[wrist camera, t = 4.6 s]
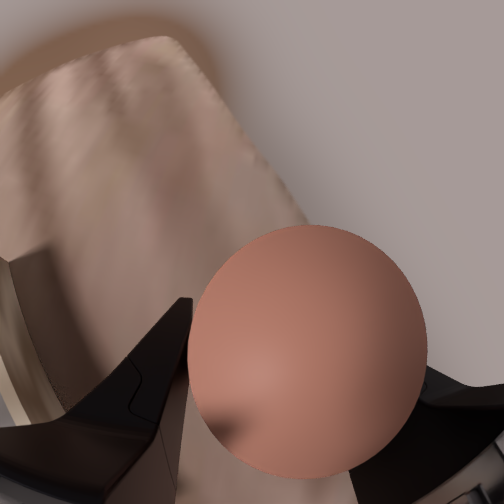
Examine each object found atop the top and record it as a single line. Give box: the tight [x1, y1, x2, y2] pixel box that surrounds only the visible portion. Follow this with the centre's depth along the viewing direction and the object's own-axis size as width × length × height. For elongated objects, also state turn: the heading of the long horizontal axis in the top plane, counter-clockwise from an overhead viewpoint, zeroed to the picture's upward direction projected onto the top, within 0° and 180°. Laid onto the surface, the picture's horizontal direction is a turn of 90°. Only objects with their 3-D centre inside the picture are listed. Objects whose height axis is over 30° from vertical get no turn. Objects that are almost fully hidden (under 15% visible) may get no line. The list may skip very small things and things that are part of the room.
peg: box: [187, 225, 427, 479], centre depth 9 cm, size 4×4×12 cm
